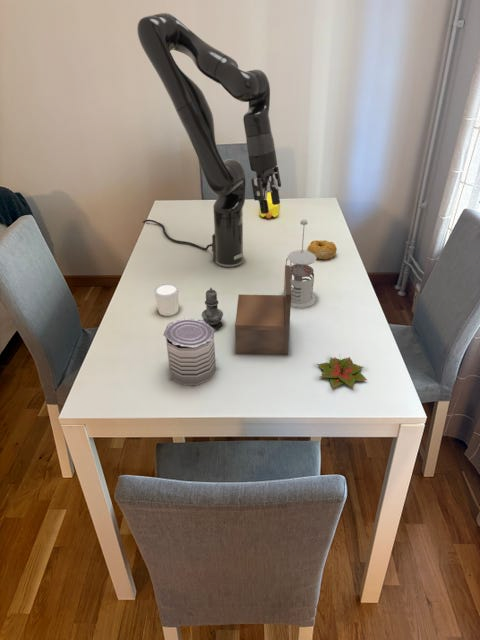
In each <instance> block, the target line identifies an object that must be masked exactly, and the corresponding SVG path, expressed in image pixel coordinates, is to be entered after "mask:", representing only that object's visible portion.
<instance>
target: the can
mask: <svg viewBox="0 0 480 640" xmlns="http://www.w3.org/2000/svg"><path fill="white" fill-rule="evenodd" d="M215 331H216V330H215V329H213V328H212V327H211V326H210V325H208V324H207V323H206V322H205V321H204V320H203V319H197V318H186V317H184V318H180V319H177V320H175V321H172V322H169V323H167V325H166V327H165V330H164V333H163V334H162V336H164V337H165V344H166V351H167V358H168V359H167V360H168V367H169V373H170V376H171V379H172V380H173V381H175V382H177V383H179V384H181V385H182V386H200V385H201V384H204V383H205V382H208V381H210V380H211V379H212V378H213V376H214V374H215V373H216V371H217V367H216V366H217V365H216V347H215Z"/></svg>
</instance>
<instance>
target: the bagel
mask: <svg viewBox="0 0 480 640" xmlns="http://www.w3.org/2000/svg"><path fill="white" fill-rule="evenodd" d="M337 250H338V248H337V246H336V244H335V242H333V241H328V240H325V239H324V240H312V241H311V242H310V244H309V245H308V246H307V249H306V251H309V252H311V253H313V254H314V255H315V256H316V259H318V260H323V261H324V260H325V261H326V260H329V259H332V258H334V257H335V256H336V253H337Z"/></svg>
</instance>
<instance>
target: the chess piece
mask: <svg viewBox="0 0 480 640" xmlns="http://www.w3.org/2000/svg"><path fill="white" fill-rule="evenodd" d="M217 293H218V292H217V291H216V290H214V289H213V288H212V287H209V289H207V291H206V292H205V301H204V304H205V309H204V310H203V311H202V312H201V318H202V320H203V321H205V322H206V323H207V324H208V325H210V326H211V327H212V328H213V329H215V330H214V331H217V330H220V329H221V328H222V327H223V322H222V319H223V317H224V312H223V311H222V310H221V309H219V308H218V307H219V305H218V304H219V300H218V295H217Z"/></svg>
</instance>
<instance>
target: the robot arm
mask: <svg viewBox="0 0 480 640" xmlns="http://www.w3.org/2000/svg"><path fill="white" fill-rule="evenodd" d="M136 30H137V31H136V32H137V38H138V40H139V43H140V46H141V48H142V49H143V51H144V53H145V56H146V57H147V58H148V60H149V62H150V63H151V65H152V67H153V68H154V70H155V72H156V74H157V75H158V77H159V79H160V81H161V83H162V84H163V87H164V89H165V91H166V92H167V94H168V96H169V99H170V100H171V103H172V105H173V107H174V110H175V112H176V114H177V116H178V119H179V120H180V123H181V124H182V126H183V128H184V130H185V132H186V134H187V136H188V138H189V142H190V143H191V145H192V148H193V149H194V152H195V154H196V156H197V160H198V161H199V164H200V167H201V170H202V173H203V175H204V179H205V180H206V183H207V185H208V187H209V189H210V190H211V192H212V193H213V194H215V195H216V196H217V198H216V200H215V202H214V203H213V207H212V208H213V228H214V229H213V230H214V233H213V234H212V235H211V241H212V242H211V243H210V244H207V245H206V247H202V246H200V245H198V244H196V243H194V242H190V241H184V240H179V239H174V238H172V237H171V236H170V235H169V234H168V233H167V231H166V228H165V225H164V224H162V223H161V222H158V221H156V220H153V219H145V220H143V221H142V224H145V223H146V222H151V223H154V224H157V225H159V226H160V227H161V228H162V232H163V234H164V235H165V236H166V238H167V239H169V240H170V241H172V242H174V243H179V244H186V245H189V246H190V245H191V246H193V247H195V248H197V249H200V250H202V251H207V250H208V249H209V248H210V247H211V251H212V261H213V262H215V263H216V264H217V265H218V266H220V267H222V268H235V267H238V266H240V265H242V264H243V263H244V221H243V220H244V213H243V211H244V209H243V208H244V205H245V201H246V172H245V169H244V166H243V165H242V164H241V162H240V161H238V160H236V159H233V158H229V159H225V160H224V159H223V158H222V155H221V153H220V151H219V149H218V145H217V142H216V133H215V120H214V115H213V111H212V109H211V107H210V105H209V102H208V100H207V98H206V96H205V93H204V92H203V90H202V89H201V88H200V87H199V85H198V84H197V83H195V82H194V80H192V79H191V77H189V76H188V74H186V73H185V72H184V71H183V70H182V69H181V68H180V67H179V65H178V64H177V62H176V60H175V59H174V56H173V54H172V53H171V51H176V52H179V53H181V54H184V55H186V56H187V57H188V58H189V59H190V60H191V61H192V62H193V64H194V65H195V67H196V69H197V70H198V71H199V72H200V73H201V74H202V75H204V76H205V77H207V78H208V79H209V80H212V81H213V82H215V83H217V84H219V86H220V85H221V86H222V88H223V89H224V90H225V91H226V92H227V93H228V94H229V95H230V96H231V97H232V98H234V99H235V100H237V101H239V102H242V103H248V109H247V111H246V112H245V113H244V115H243V117H242V121H243V127H244V134H245V138H246V139H245V140H246V141H245V142H246V150H247V154H248V162H249V167H250V170H251V171H252V172H255V173H256V177H253V178H251V180H250V181H251V187H252V194H253V200H254V201H257V202H258V204H259V211H260V210H261V213H262V214H267V213H268V212H269V208H268V202H267V193H268V192H271V198H272V204H273V205H277V204H279V205H280V204H281V199H280V193H279V191H280V188H281V187H282V182H281V176H280V171H279V166H278V160H277V152H276V146H275V140H274V136H273V132H272V126H271V120H270V104H271V85H270V81H269V79H268V76H267V74H266V73H265V72H264V71H263V70H262V69H251V70H247V71H245V70H242V69H240V67H239V64H238V62H237V60H235V59H234V58H232V56H229V55H227V54H226V53H224V52H222V51H221V50H219V49H217V48H215V47H214V46H212V45H210V44H209V43H207V42H206V41H205V40H203V39H202V38H201V37H199V35H197V34H196V33H195V32H194V31H192V30H191V29H190V28H188V27H187V26H186V25H185V24H184V23H183V22H182V21H181V20H179V19H178V18H177V17H175V16H174V15H172V14H170V13H167V12H161V13H156V14H152V15H151V14H150V15H146V16H143V17H142V18H140V19H139V21H138V23H137V28H136ZM263 194H264V195H263Z"/></svg>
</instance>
